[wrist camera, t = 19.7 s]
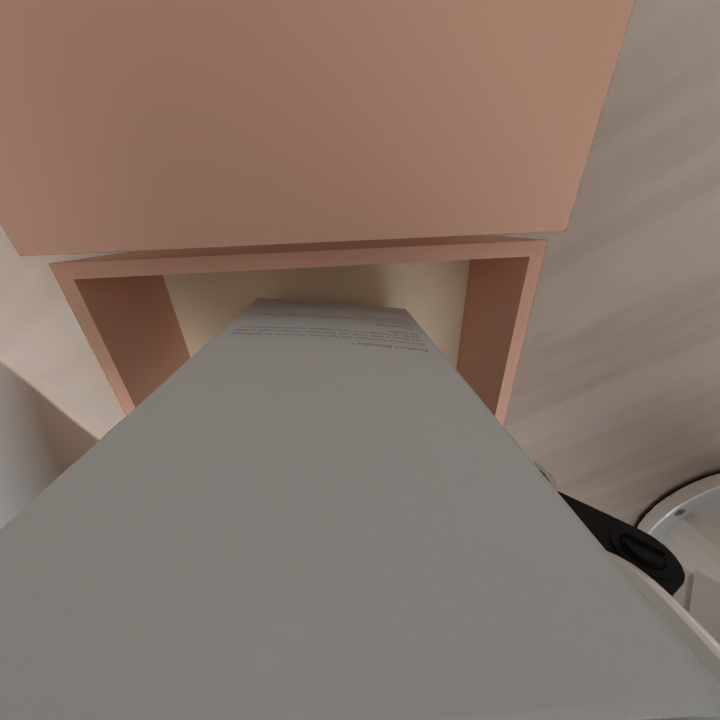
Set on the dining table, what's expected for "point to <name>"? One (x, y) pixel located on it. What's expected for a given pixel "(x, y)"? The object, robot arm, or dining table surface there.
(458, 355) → the box
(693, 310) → the dining table surface
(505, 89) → the lid
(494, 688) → the supplement box
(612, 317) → the dining table surface
